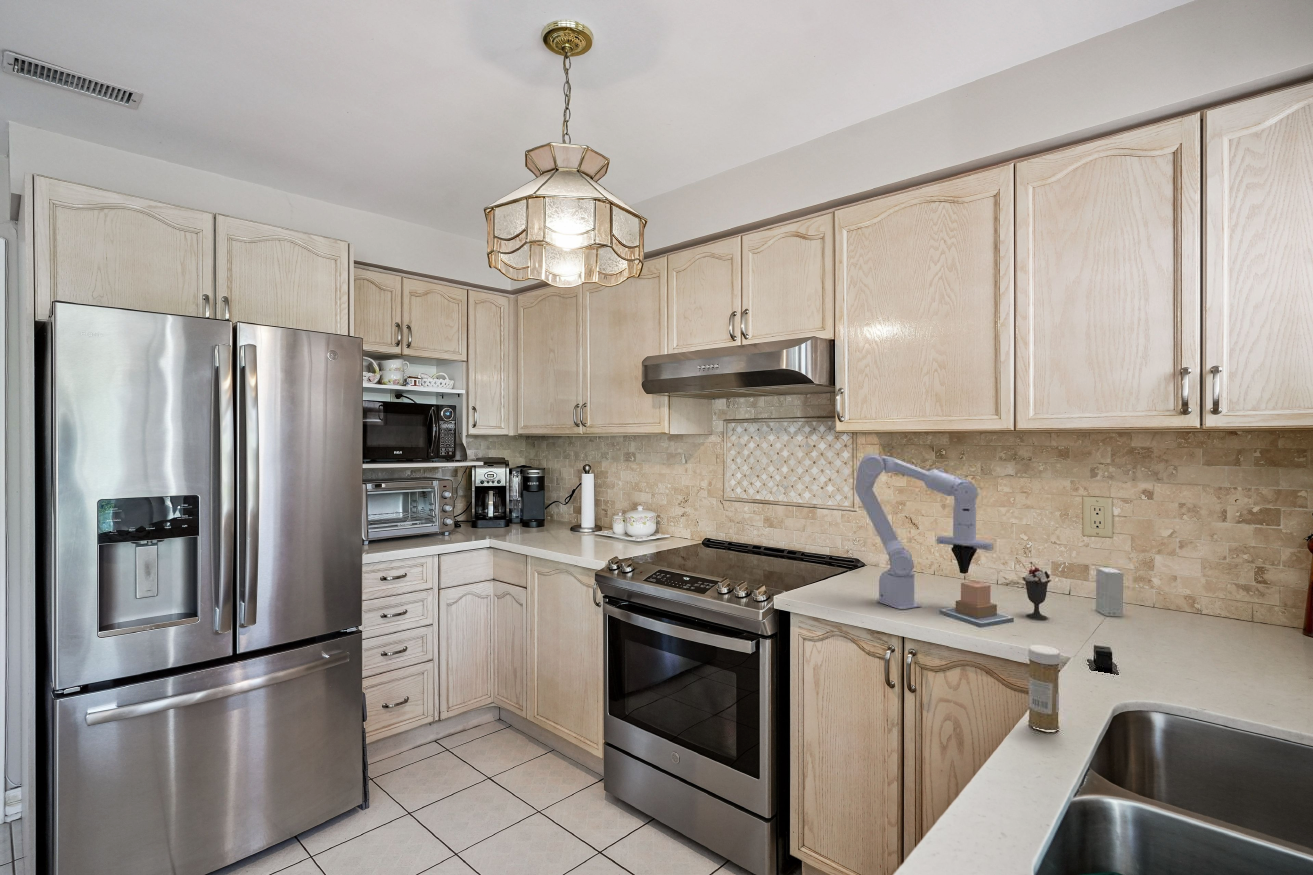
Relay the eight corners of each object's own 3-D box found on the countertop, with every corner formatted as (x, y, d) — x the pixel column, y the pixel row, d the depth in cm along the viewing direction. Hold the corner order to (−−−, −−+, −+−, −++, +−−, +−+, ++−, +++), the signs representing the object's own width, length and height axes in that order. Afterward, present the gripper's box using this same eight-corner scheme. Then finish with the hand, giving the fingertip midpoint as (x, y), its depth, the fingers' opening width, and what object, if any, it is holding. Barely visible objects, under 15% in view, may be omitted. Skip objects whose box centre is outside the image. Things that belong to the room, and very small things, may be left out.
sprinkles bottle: (1065, 730, 106) (1066, 650, 106) (1047, 736, 104) (1048, 654, 104) (1039, 719, 110) (1040, 642, 110) (1021, 724, 108) (1022, 645, 108)
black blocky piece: (1080, 657, 141) (1080, 637, 141) (1120, 663, 138) (1120, 642, 138) (1085, 676, 130) (1085, 654, 130) (1129, 683, 127) (1129, 661, 127)
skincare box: (1123, 617, 169) (1124, 572, 169) (1105, 616, 170) (1106, 571, 170) (1112, 610, 175) (1112, 567, 175) (1094, 609, 176) (1095, 567, 176)
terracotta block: (960, 601, 170) (960, 582, 170) (974, 599, 172) (974, 580, 172) (976, 606, 165) (977, 586, 165) (990, 603, 167) (990, 585, 167)
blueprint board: (939, 613, 172) (939, 598, 172) (971, 608, 177) (971, 594, 177) (981, 627, 161) (981, 611, 160) (1013, 621, 165) (1013, 606, 165)
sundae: (1021, 618, 168) (1020, 562, 168) (1023, 611, 174) (1023, 557, 174) (1050, 622, 165) (1049, 564, 164) (1052, 615, 170) (1051, 560, 170)
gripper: (931, 522, 178) (931, 570, 178) (986, 528, 167) (985, 579, 167) (943, 519, 182) (942, 566, 183) (996, 525, 172) (996, 575, 172)
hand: (963, 572), depth 175 cm, fingers closed
